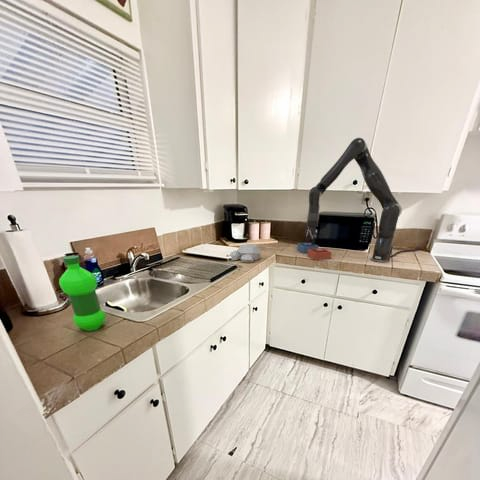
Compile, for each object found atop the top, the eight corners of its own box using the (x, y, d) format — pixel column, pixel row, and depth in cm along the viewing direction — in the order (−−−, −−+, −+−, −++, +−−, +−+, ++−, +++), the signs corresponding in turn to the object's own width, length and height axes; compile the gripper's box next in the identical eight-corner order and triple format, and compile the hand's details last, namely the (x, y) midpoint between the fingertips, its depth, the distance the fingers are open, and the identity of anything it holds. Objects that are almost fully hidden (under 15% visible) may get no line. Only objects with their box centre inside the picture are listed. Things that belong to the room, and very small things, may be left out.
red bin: (322, 254, 179) (323, 248, 177) (330, 258, 170) (331, 252, 168) (307, 255, 177) (308, 249, 175) (314, 259, 168) (315, 253, 166)
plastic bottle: (97, 335, 87) (73, 262, 75) (69, 333, 89) (42, 260, 77) (114, 321, 96) (96, 253, 84) (89, 319, 97) (67, 252, 85)
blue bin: (310, 248, 195) (311, 242, 193) (317, 252, 185) (318, 245, 183) (296, 249, 193) (297, 243, 191) (303, 253, 183) (303, 246, 181)
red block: (320, 255, 176) (321, 248, 174) (323, 257, 172) (324, 250, 170) (314, 255, 175) (314, 249, 173) (317, 257, 171) (318, 250, 169)
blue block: (308, 249, 191) (309, 243, 189) (311, 250, 187) (312, 244, 185) (302, 249, 190) (303, 243, 188) (305, 251, 186) (306, 244, 184)
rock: (254, 264, 159) (254, 248, 155) (225, 261, 167) (225, 245, 162) (264, 257, 174) (265, 242, 169) (237, 254, 181) (237, 240, 176)
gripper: (322, 220, 172) (319, 245, 180) (313, 217, 184) (310, 241, 192) (312, 220, 171) (309, 245, 178) (303, 218, 183) (301, 241, 191)
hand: (310, 243), depth 185 cm, fingers open, 8 cm apart
